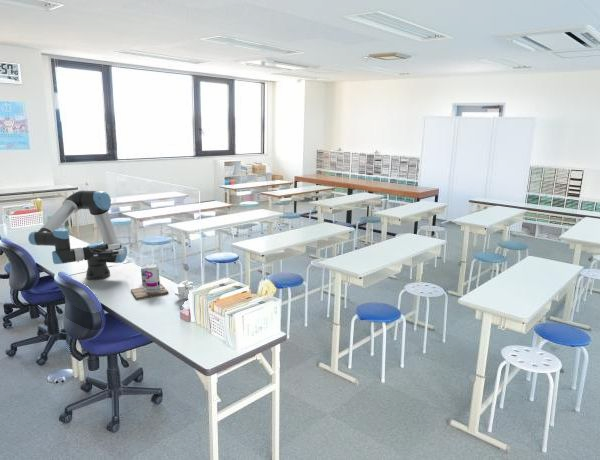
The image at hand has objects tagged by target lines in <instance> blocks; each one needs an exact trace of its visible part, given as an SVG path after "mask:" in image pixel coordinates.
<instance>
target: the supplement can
mask: <svg viewBox="0 0 600 460" xmlns="http://www.w3.org/2000/svg"><path fill="white" fill-rule="evenodd" d="M147 265H148V264H147ZM157 265H158V264H155V265H148V266H146V265H145V266H146V268H145V277H146V284H145V287H146V289H147V290H148V291H156V290H159V288H160V284H161V283H160V282H161V281H160V280H161V279H160V268H159V265H158V266H157Z"/></svg>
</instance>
